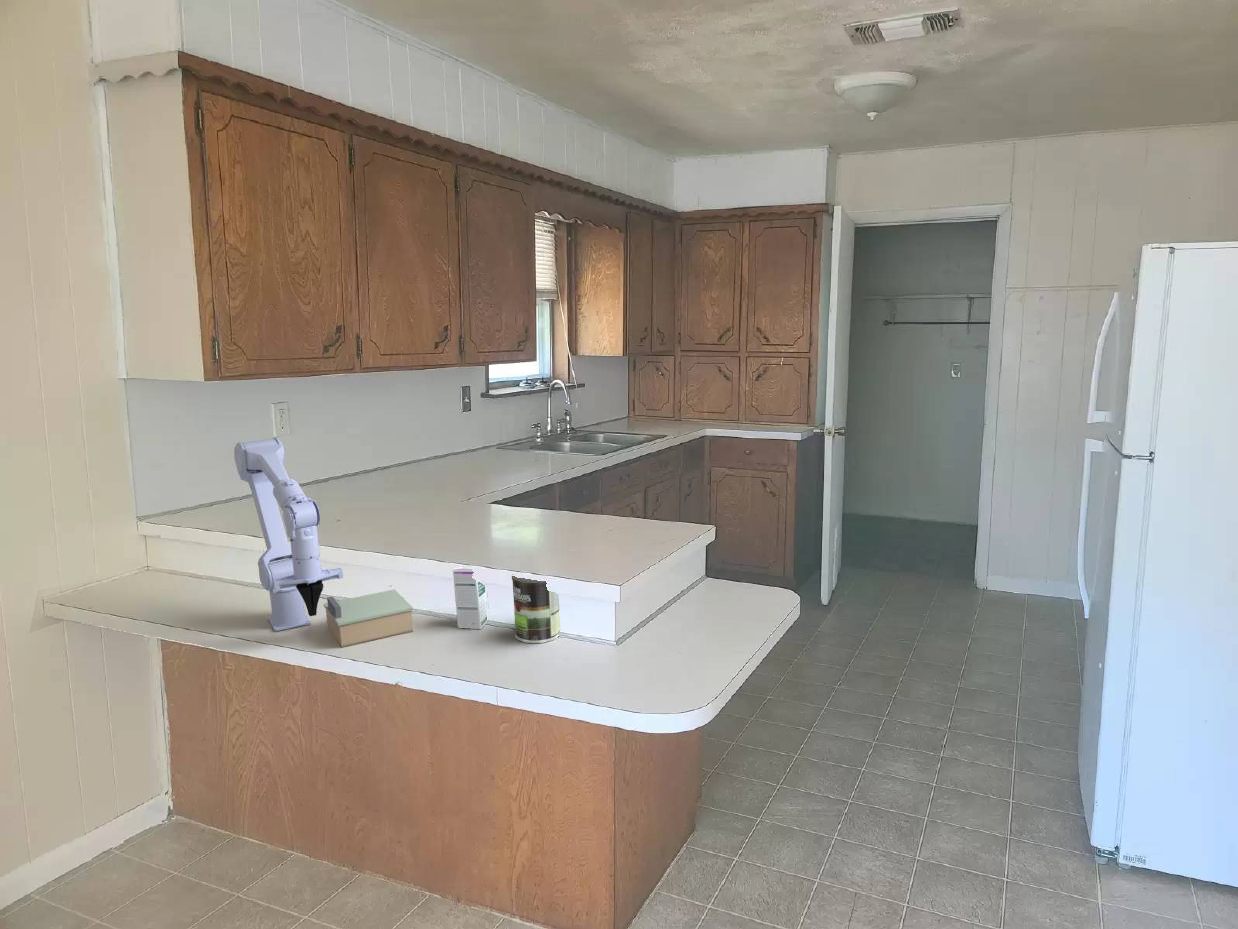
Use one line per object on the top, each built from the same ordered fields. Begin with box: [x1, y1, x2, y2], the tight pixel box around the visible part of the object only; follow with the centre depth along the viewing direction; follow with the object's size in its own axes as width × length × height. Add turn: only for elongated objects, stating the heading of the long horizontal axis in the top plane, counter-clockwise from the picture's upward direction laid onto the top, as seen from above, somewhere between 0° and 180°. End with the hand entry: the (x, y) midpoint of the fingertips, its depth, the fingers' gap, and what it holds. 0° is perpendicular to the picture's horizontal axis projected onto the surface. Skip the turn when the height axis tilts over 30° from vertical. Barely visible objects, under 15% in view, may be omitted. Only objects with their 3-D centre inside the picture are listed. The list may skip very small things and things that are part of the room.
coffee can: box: [511, 575, 561, 644], centre depth 194 cm, size 10×10×14 cm
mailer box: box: [325, 609, 414, 648], centre depth 201 cm, size 14×16×5 cm
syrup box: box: [452, 566, 488, 630], centre depth 201 cm, size 6×6×14 cm
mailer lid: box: [323, 589, 414, 626], centre depth 200 cm, size 15×17×3 cm
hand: (312, 614), depth 194 cm, fingers closed
